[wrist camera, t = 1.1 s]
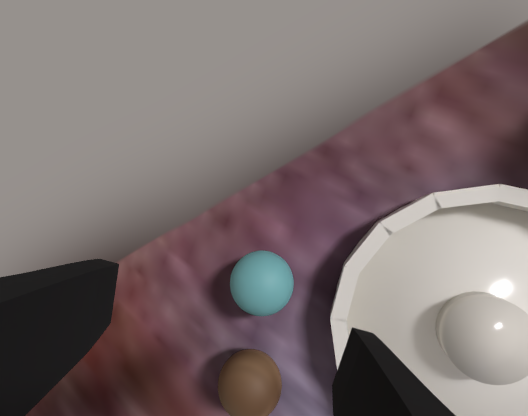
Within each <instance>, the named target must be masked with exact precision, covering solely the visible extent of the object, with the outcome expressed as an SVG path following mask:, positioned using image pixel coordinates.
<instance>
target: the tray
mask: <svg viewBox="0 0 528 416" xmlns="http://www.w3.org/2000/svg"><path fill="white" fill-rule="evenodd" d="M330 322H331V329H332V336H333V343H334V351H335V358H336V365H337V370H338V367H339V364H340V361H341V358H342V355H343V352H344V349H345V347H346V344H347V341H348V338H349V335H350V332H351V329H352V327H353V328H357V329H360V330H364V331H368V332H371V333H373V334H375V335H376V336H377V337H378V338H379V339H380V340H381V341H382V342H383V343H384V344H385V345H386V346H387V347H388V348H389V349H390V350H391V351H392V352H393V353H394V354H395V355H396V356H397V357H398V358H399V359H400V360H401V361H402V362H403V363H404V364H405V366H406V367H407V368H408V369H409V370H410V371H411V372H412V373H413V374H414V375H415V376H416V377H417V378H418V379H419V380H420V381H421V382H422V383H423V384H424V385H425V386H426V387H427V388H428V389H429V390H430V391H431V392H432V393H433V394H434V395H435V396H436V397H437V398H438V399H439V400H440V401H441V402H442V403H443V404H444V405H445V406H446V407H447V408H448V409H449V410H450V411H451V412H452V413H454V414H455V415H456V416H528V190H527V189H522V188H517V187H513V186H508V185H503V184H495V185H488V186H480V187H473V188H465V189H458V190H451V191H443V192H436V193H431V194H427V195H424V196H423V197H421V198H419V199H417V200H415V201H413V202H412V203H410V204H407V205H405V206H403V207H401V208H399V209H397V210H396V211H394V212H392V213H391V214H389V215H388V216H386V217H384V218H382V219H380V220H379V221H377V222H376V223H375V224H374V225H373V227H372V228H371V229H370V230H369V231H368V232H367V233H366V234H365V235H364V237H363V238H362V239H361V240H360V241H359V242H358V244H357V245H356V247H355V248H354V249H353V251H352V252H351V254H350V255H349V256H348V258H347V259H346V260H345V261H344V264H343V267H342V271H341V275H340V278H339V281H338V284H337V288H336V293H335V297H334V301H333V304H332V308H331V314H330Z"/></svg>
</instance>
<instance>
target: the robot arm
mask: <svg viewBox="0 0 528 416" xmlns="http://www.w3.org/2000/svg"><path fill="white" fill-rule="evenodd" d="M118 268H119V264H117V263H113V262H109V261H106V260H102V259H94V260H87V261H81V262H76V263H70V264H65V265H61V266H56V267H51V268H46V269H41V270H37V271H32V272H27V273H23V274H17V275H11V276H6V277H1V278H0V416H25V415H26V414H27V413H28V412H29V411H30V410H31V409H32V408H33V407H34V406H35V405H36V404H37V403H38V402H39V401H40V400H41V399H42V398H43V397H44V396H45V395H46V394H47V393H48V392H49V391H50V390H51V389H52V388H53V387H54V386H55V385H56V384H57V383H58V382H59V381H60V380H61V379H62V378H63V377H64V376H65V375H66V374H67V373H68V372H69V371H70V370H71V369H72V368H73V367H74V366H75V365H76V364H77V363H78V362H79V361H80V360H81V359H82V358H83V357H84V356H85V355H86V354H87V352H88V351H89V350H90V349H91V348H92V346H93V345H94V344H95V343H96V341H97V340H98V339H99V338H100V336H101V335H102V334H103V332H104V331H105V330H106V328H107V327H108V326H109V324H110V323H111V316H112V309H113V302H114V295H115V288H116V281H117V275H118ZM332 392H333V415H334V416H456V415H455V414H454V413H452V412H451V411H450V410H449V409H448V408H447V407H446V406H445V405H444V404H443V403H442V402H441V401H440V400H439V399H438V398H437V397H436V396H435V395H434V394H433V393H432V392H431V391H430V390H429V389H428V388H427V387H426V386H425V385H424V384H423V383H422V382H421V381H420V380H419V379H418V378H417V377H416V376H415V375H414V374H413V373H412V372H411V371H410V370H409V369H408V368H407V367H406V366H405V364H404V363H403V362H402V361H401V360H400V359H399V358H398V357H397V356H396V355H395V354H394V353H393V352H392V351H391V350H390V349H389V348H388V347H387V346H386V345H385V344H384V343H383V342H382V341H381V340H380V339H379V338H378V337H377V336H376V335H375V334H373V333H371V332H368V331H364V330H360V329H357V328H353V327H352V329H351V332H350V335H349V338H348V341H347V344H346V347H345V349H344V352H343V355H342V358H341V361H340V364H339V367H338V370H337V373H336V376H335V379H334V382H333V385H332Z"/></svg>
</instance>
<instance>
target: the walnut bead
mask: <svg viewBox="0 0 528 416" xmlns="http://www.w3.org/2000/svg"><path fill="white" fill-rule="evenodd" d="M281 388H282V383H281V375H280V372H279V369H278V367H277V365H276V363H275V362H274V361H273V359H272V358H271V357H270V356H268V355H267V354H266V353H264V352H262V351H259V350H255V349H245V350H241V351H239V352H237V353H235V354H234V355H232V356H231V357H230V358H229V359H228V360H227V361H226V363H225V364H224V366H223V367H222V369H221V372H220V375H219V379H218V393H219V398H220V401H221V403H222V405H223V407H224V409H225V410H226V412H227V413H228V414H229V415H230V416H268V415H269V414H270V413H271V412H272V411H273V410H274V408H275V407H276V405H277V403H278V401H279V398H280V394H281Z"/></svg>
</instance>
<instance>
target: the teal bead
mask: <svg viewBox="0 0 528 416" xmlns="http://www.w3.org/2000/svg"><path fill="white" fill-rule="evenodd" d="M293 286H294V281H293V275H292V272H291V269H290V267H289V266H288V264H287V263H286V262H285V260H284V259H282V258H281V257H280V256H278V255H277V254H275V253H272V252H269V251H255V252H251V253H249V254H247V255H245V256H244V257H242V258H241V259H240V260H239V261H238V262H237V264H236V265H235V267H234V268H233V271H232V273H231V278H230V289H231V294H232V296H233V299H234V300H235V302H236V303H237V305H238V306H239V307H240V308H241V309H242V310H244V311H245V312H247V313H249V314H252V315H255V316H268V315H272V314H274V313H276V312H278V311H280V310H281V309H282V308H283V307H284V306H285V305H286V304H287V303H288V301H289V299H290V297H291V295H292V292H293Z"/></svg>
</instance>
